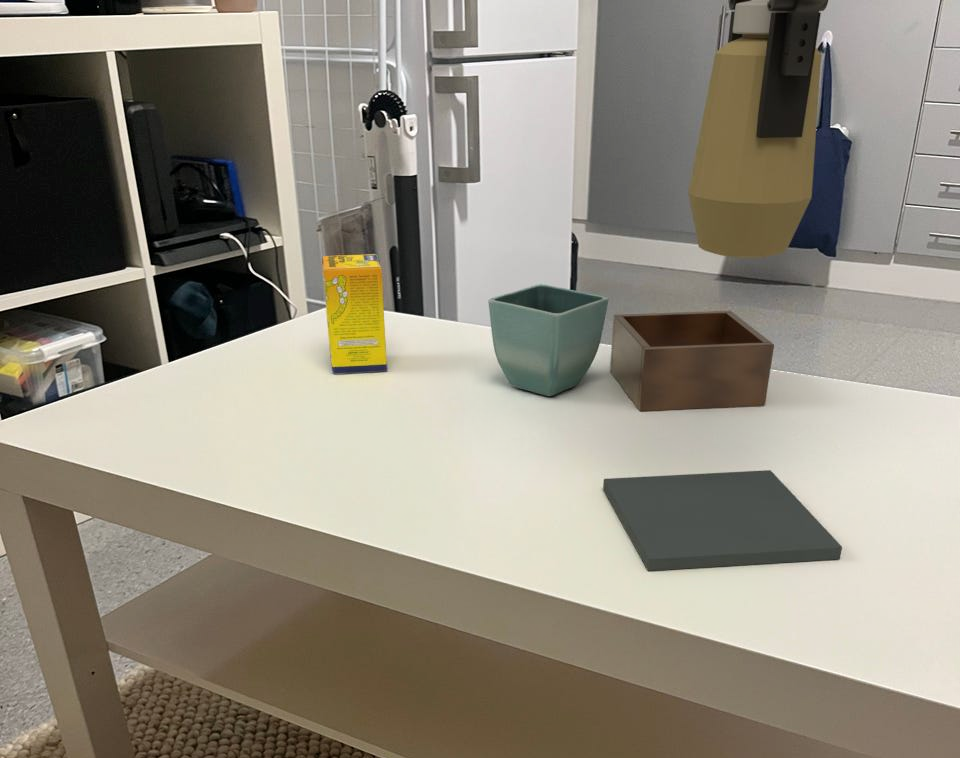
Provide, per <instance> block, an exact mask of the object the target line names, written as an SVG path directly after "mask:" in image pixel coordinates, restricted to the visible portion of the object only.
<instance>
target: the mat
mask: <svg viewBox="0 0 960 758" xmlns="http://www.w3.org/2000/svg"><path fill="white" fill-rule="evenodd" d="M602 485H603V486H602V490H603V492H604V494H605V495H606V497H607V499H608V501H609V503H610V505H611V506H612V508H613V510H614V512H615V514H616V515H617V517H618V519H619V522H620V523H621V525H622V526H623V528H624V530H625V532H626V533H627V536H628V537H629V539H630V541H631V542H632V544H633V546H634V548H635V550H636V551H637V553H638V555H639V556H640V559H641V560H642V563H643V564H644V566H645V568H646V570H647V571H648V572H653V571H670V570H685V569H686V570H687V569H703V568H717V567H718V568H719V567H732V566H733V567H735V566H736V567H737V566H750V565H751V566H752V565H768V564H769V565H770V564H781V563H782V564H783V563H797V562H798V563H800V562H814V561H833V560H840V559H841V556H842V551H843V546H842V545H841V543H840V542H839V541H838V540H837V539H835V538H834V536H833V535H832V534H831V533H830V532H829V531H828V530H827V528H825V527H824V526H823V525H822V524H821V523H820V521H819V520H818V519H817V518H816V517H815V516H814V515H813V514H812V513H811V512H810V511H809V510H808V508H807V507H806V506H804V504H803V503H802V502H801V501H800V500H799V499H798V497H796V496H795V495H794V494H793V493H792V491H791V490H790V489H789V488H788V487H787V486H786V485H785V484H784V482H782V481H781V480H780V479H779V477H777V476H776V474H775V473H774V472H773V471H772V470H771V469H768V470H767V469H766V470H765V469H763V470H749V471H748V470H745V471H728V472H727V471H726V472H707V473H706V472H705V473H688V474H670V475H651V476H650V475H649V476H635V477H634V476H632V477H631V476H630V477H629V476H628V477H612V478H604V479H603V484H602Z"/></svg>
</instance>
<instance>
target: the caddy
mask: <svg viewBox="0 0 960 758" xmlns="http://www.w3.org/2000/svg"><path fill="white" fill-rule="evenodd" d="M611 333H612V335H611V347H610V364H609V365H610V366H609V372H610V373H611V375H612V376H613V377H614V379H615V380H616V381H617V383H618V384H619V385H620V387H621V389H623V391H624V392H625V394H626V395H627V396H628V397H629V399H630V400H631V401H632V402H633V404H634V405H635V407H636V408H637V410H638V411H639V412H652V411H674V410H675V411H676V410H677V411H678V410H696V409H717V408H718V409H720V408H740V407H761V406H762V407H763V406H764V407H765V406H766V401H767V394H768V388H769V382H770V377H771V376H770V375H771V369H772V361H773V356H774V349H775V344H774V342H772V341H770V340H769V339H768V338H766V337H765V336H764V335H763V334H761V332H759V331H758V330H756V329H755V328H754V327H752V326H751V325H750V324H749V323H748V322H746V321H745V320H744V319H742V317H739V316H738V314H736V313H734V312H733V311H732V310H711V311H710V310H708V311H707V310H706V311H681V312H680V311H679V312H678V311H677V312H653V313H652V312H651V313H647V312H646V313H624V314H623V313H622V314H619V313H618V314H613V319H612V332H611Z"/></svg>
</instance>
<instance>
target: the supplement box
mask: <svg viewBox="0 0 960 758" xmlns="http://www.w3.org/2000/svg"><path fill="white" fill-rule="evenodd" d="M321 266H322V268H321V269H322V278H323V279H322V280H323V289H324V299H325V310H326V321H327V334H328V343H329V344H328V345H329V346H328V347H329V356H330V361H331V370H332V371H331V372H332V374H333V375H345V374H346V375H347V374H363V373H365V374H366V373H379V372H387V371H388V361H387V346H386V345H387V344H386V340H387V339H386V326H385V325H386V324H385V311H384V310H385V307H384V305H385V304H384V285H383V267H382V266H381V264H380V261H379V256H378V255H377V254H376V253H368V254H346V255H345V254H344V255H343V254H342V255H341V254H340V255H326V256H325V255H323V256H322V257H321Z"/></svg>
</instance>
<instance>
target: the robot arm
mask: <svg viewBox="0 0 960 758" xmlns="http://www.w3.org/2000/svg"><path fill="white" fill-rule="evenodd" d="M747 1H751V0H728V1H727V2H728V8H729V10H730V11H731V12H730V21H729V29H728V38H727V43H729V42H732V41H734V40H736V39H739V38H741V37H742V34H736V33H733V24H734V15H735V6H736V4H737V3H742V2H747ZM828 3H829V0H769V2H767V7H768V10H769V11H787V12H782V13H771V19H770V26H769V34H768V42H767V50H766V57H765V65H764V73H763V80H762V88H761V96H760V104H759V112H758V122H757V133H756V137H759V138H780V137H802V134H803V127H804V121H805V114H806V107H807V101H808V94H809V88H810V81H811V74H812V68H813V61H814V55H815V48H817V47H816V46H817V41H818V34H819V27H820V21H821V15H822V12H824V11H825V10H826V9H827V6H828Z"/></svg>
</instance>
